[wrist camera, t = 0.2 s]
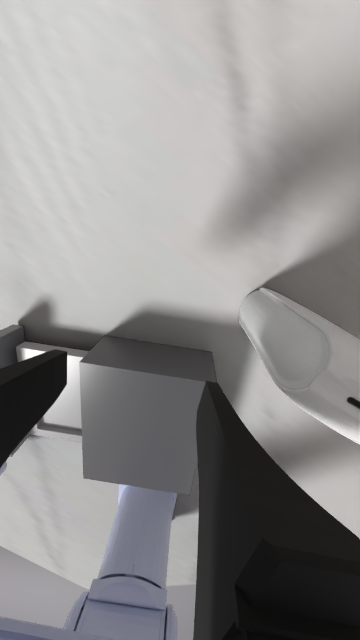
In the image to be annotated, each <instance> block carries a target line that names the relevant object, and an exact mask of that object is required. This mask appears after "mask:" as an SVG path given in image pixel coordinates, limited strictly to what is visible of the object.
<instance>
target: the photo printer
mask: <svg viewBox="0 0 360 640" xmlns="http://www.w3.org/2000/svg"><path fill="white" fill-rule="evenodd" d="M238 320H239V323H240V324H241V326H242V328H243V329H244V331H245V333H246V334H247V336H248V338H249V339H250V341H251V343H252V345H253V346H254V348H255V350H256V351H257V353H258V355H259V356H260V358H261V360H262V362H263V363H264V365H265V367H266V369H267V370H268V372H269V374H270V376H271V377H272V379H273V381H274V382H275V384H276V385H277V386H278V387H279V388H280V389H281V390H282V391H283V392H284V393H285V394H286V395H287V396H288V397H289V398H290V399H291V400H292V401H293V402H294V403H295V404H296V405H297V406H299V407H300V408H302V409H303V410H304V411H306V412H307V413H309V414H310V415H312V416H313V417H314V418H316V419H317V420H319V421H321V422H322V423H324V424H325V425H327V426H328V427H330V428H332V429H333V430H335V431H337V432H338V433H340V434H342V435H343V436H345V437H347V438H349V439H350V440H352V441H353V442H355V443H358V444H360V340H359V339H358V338H356V337H355V336H353V335H351V334H350V333H348V332H346V331H345V330H343V329H341V328H340V327H338V326H336V325H335V324H333V323H331V322H330V321H328V320H326V319H325V318H323V317H321V316H319V315H318V314H316V313H314V312H312V311H311V310H309V309H307V308H305V307H303V306H301V305H299V304H298V303H296V302H294V301H292V300H290V299H288V298H287V297H285V296H283V295H281V294H279V293H277V292H274V291H272V290H269V289H266V288H262V287H261V288H260V289H259V290H257V291H254V292H252V293H250V294H249V295H248V296H247V297H246V298H245V299H244V300H243V302H242V304H241V306H240V317H239V318H238Z"/></svg>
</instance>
